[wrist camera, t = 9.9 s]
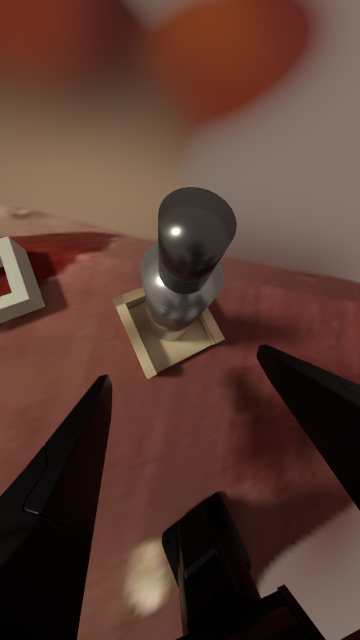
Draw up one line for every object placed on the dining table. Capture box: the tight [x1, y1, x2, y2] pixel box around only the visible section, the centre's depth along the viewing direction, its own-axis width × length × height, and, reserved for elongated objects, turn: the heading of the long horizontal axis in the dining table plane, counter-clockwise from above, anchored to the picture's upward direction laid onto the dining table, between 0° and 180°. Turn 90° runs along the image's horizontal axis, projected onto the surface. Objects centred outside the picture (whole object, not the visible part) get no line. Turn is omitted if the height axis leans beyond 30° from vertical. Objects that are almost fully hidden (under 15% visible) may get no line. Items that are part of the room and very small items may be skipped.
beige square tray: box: [113, 287, 225, 379], centre depth 19 cm, size 9×9×3 cm
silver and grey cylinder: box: [141, 187, 237, 341], centre depth 12 cm, size 4×4×15 cm
